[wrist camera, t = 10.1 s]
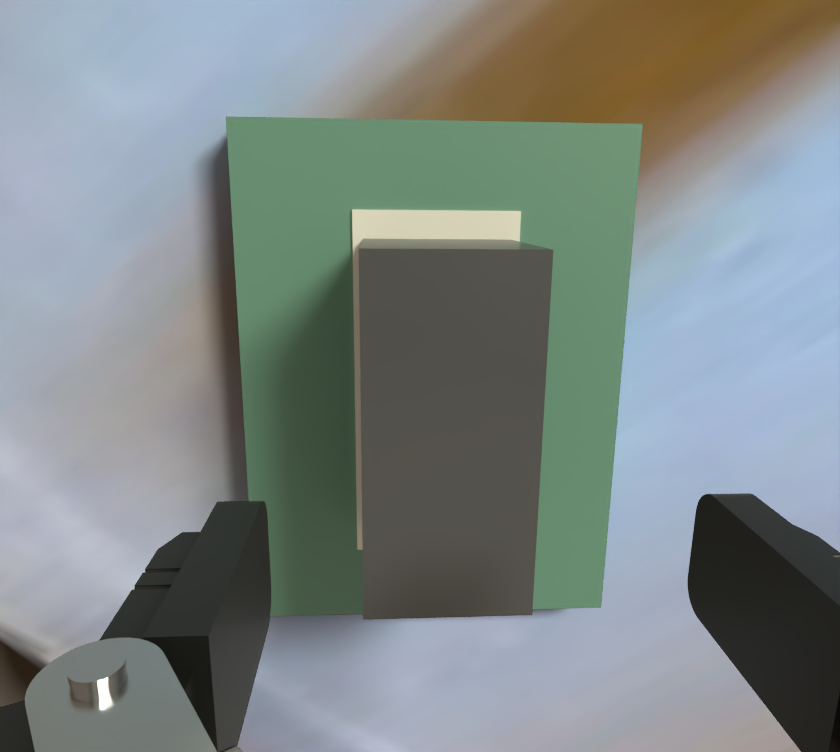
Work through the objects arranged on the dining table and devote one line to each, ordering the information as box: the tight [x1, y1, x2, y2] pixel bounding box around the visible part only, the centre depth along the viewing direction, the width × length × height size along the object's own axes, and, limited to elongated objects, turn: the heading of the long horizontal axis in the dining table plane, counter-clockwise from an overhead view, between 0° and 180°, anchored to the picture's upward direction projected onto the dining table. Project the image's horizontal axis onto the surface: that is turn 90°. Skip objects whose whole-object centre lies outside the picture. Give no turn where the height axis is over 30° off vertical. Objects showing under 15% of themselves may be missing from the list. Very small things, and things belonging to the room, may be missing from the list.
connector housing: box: [359, 239, 553, 619], centre depth 18 cm, size 9×4×5 cm, turn 179°
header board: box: [226, 117, 643, 616], centre depth 20 cm, size 16×12×5 cm
